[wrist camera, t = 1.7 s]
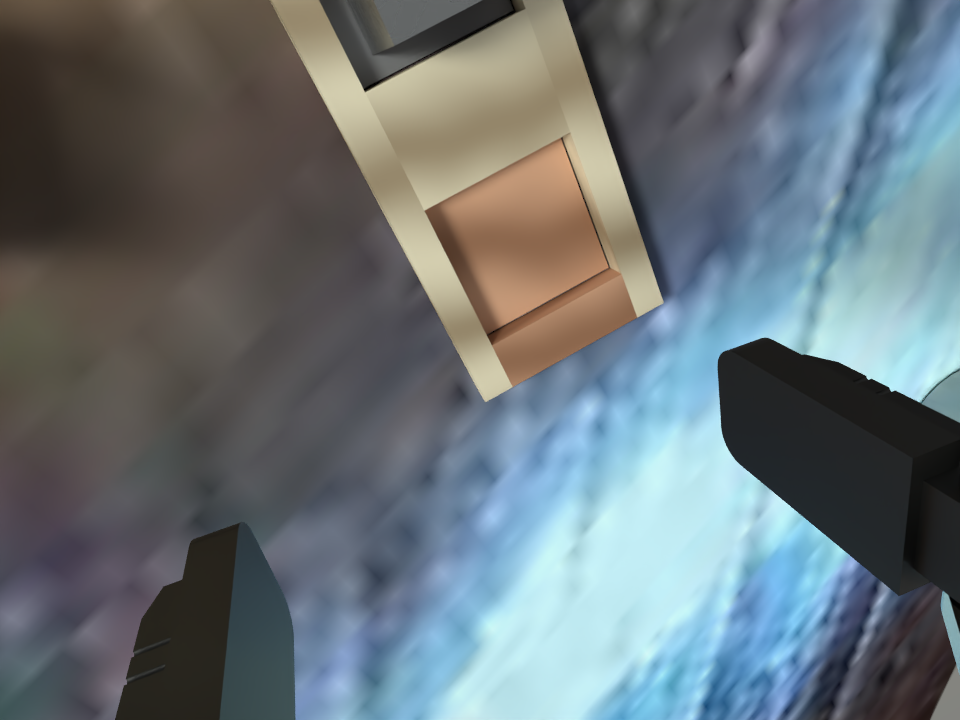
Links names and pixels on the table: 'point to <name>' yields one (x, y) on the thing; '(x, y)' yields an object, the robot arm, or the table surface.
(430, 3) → the grey block
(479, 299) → the beige flat rectangular frame
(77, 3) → the table surface
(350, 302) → the table surface
